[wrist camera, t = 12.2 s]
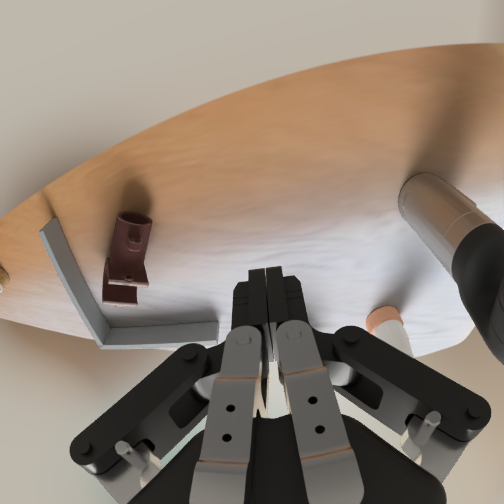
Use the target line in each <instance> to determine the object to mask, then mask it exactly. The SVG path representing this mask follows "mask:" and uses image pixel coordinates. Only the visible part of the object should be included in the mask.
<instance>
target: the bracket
mask: <svg viewBox="0 0 504 504" xmlns="http://www.w3.org/2000/svg"><path fill="white" fill-rule="evenodd" d="M151 226H152V220H151V219H150V218H149V217H147V216H145V215H141V214H138V213H134V212H121V213H119V214H118V215H117V220H116V225H115V231H114V237H113V243H112V249H111V255H110V259H108V258H107V259H106V262H105V267H104V275H103V289H102V301H103V304H111V305H115V306H117V307H124V306H138V303H137V286H138V287H148V286H149V282H148V279H147V275H146V270H145V266H144V259H145V254H146V249H147V244H148V240H149V235H150V231H151Z"/></svg>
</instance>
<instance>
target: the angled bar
mask: <svg viewBox="0 0 504 504" xmlns="http://www.w3.org/2000/svg"><path fill="white" fill-rule="evenodd" d="M38 233H39V235H40V237H41V240H42V242H43V244H44V246H45V248H46V251H47V253H48V255H49V257H50V259H51V261H52V263H53V265H54V267H55V270H56V272H57V274H58V276H59V277H60V279H61V281H62V283H63V285H64V287H65V289H66V291H67V293H68V295H69V297H70V298H71V300H72V302H73V304H74V306H75V307H76V309H77V311H78V313H79V314H80V316H81V318H82V320H83V321H84V323H85V325H86V326H87V328H88V330H89V331H90V333H91V335H92V336H93V338H94V339H95V341H96V342H97V344H98V346H99V347H100V349H146V348H172V347H181V346H183V345H186V344H189V343H198V344H201V345H203V346H206V345H218V334H219V323H218V321H213V322H201V323H189V324H176V325H161V326H145V327H126V328H110V327H109V325H108V324H107V322H106V320H105V318H104V316H103V315H102V313H101V311H100V309H99V307H98V305H97V303H96V301H95V299H94V297H93V296H92V294H91V292H90V290H89V288H88V286H87V284H86V282H85V280H84V277H83V275H82V273H81V271H80V269H79V267H78V265H77V263H76V260H75V258H74V256H73V254H72V252H71V249H70V247H69V245H68V242H67V240H66V238H65V235H64V233H63V230H62V228H61V226H60V223H59V221H58V218H57V217H56V218H52V219H51V220H50V221H49V222H48V223H47V224H46V225H45V226H44V227H43V228H42V229H41V230H40V231H39V232H38Z"/></svg>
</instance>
